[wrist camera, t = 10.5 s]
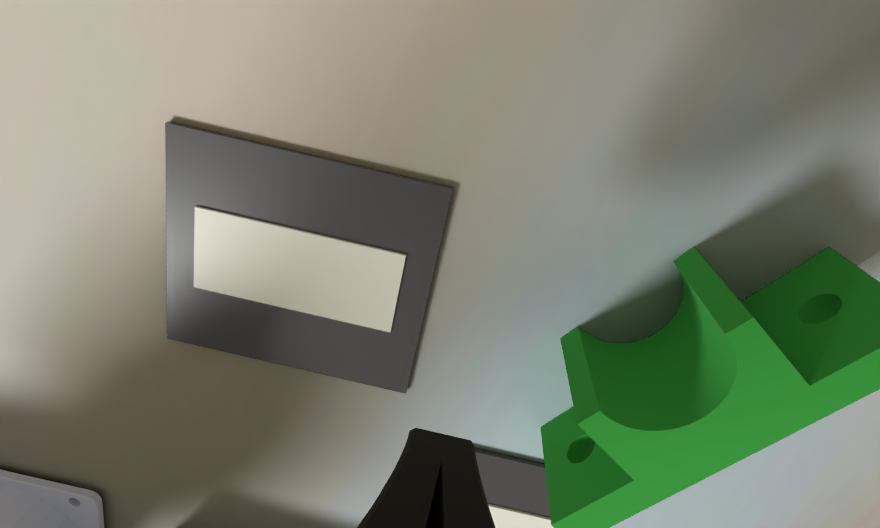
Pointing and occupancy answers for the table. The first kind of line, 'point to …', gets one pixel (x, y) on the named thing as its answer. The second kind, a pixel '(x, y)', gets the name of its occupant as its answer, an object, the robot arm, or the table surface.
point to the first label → (514, 490)
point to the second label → (298, 256)
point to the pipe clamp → (708, 386)
